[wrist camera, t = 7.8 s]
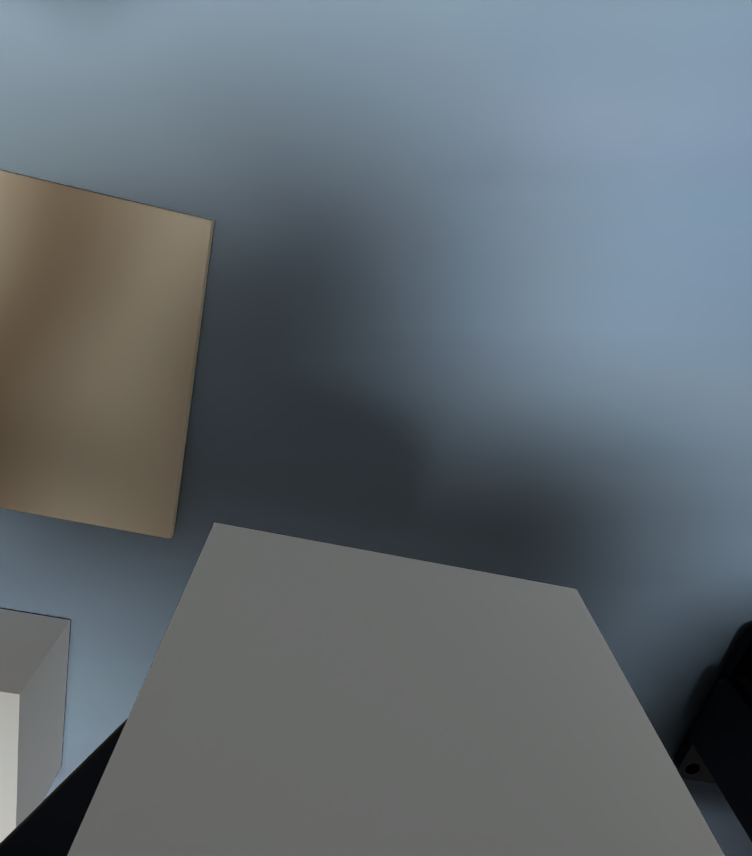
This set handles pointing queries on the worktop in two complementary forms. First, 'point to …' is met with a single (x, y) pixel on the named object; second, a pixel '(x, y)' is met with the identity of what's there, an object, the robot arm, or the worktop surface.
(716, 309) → the worktop surface
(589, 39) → the worktop surface
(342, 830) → the die
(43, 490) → the birch tile
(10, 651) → the dome base
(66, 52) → the worktop surface
